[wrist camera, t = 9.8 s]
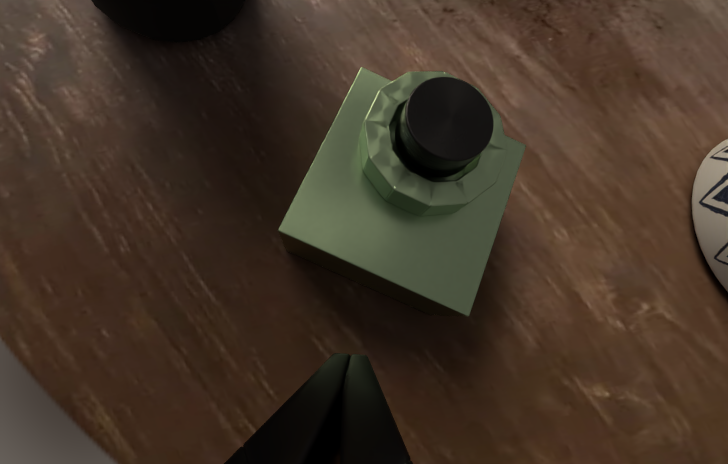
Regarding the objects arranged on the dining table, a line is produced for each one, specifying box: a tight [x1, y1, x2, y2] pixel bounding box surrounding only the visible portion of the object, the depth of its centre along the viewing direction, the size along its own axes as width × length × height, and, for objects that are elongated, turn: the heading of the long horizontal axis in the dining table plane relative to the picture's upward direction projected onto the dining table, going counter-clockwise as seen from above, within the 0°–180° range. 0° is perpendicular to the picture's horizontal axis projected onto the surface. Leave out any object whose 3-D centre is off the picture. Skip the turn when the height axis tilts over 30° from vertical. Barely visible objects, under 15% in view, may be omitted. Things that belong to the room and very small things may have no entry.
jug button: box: [395, 77, 494, 177], centre depth 16 cm, size 4×4×2 cm
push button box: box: [278, 67, 526, 316], centre depth 20 cm, size 10×10×8 cm
